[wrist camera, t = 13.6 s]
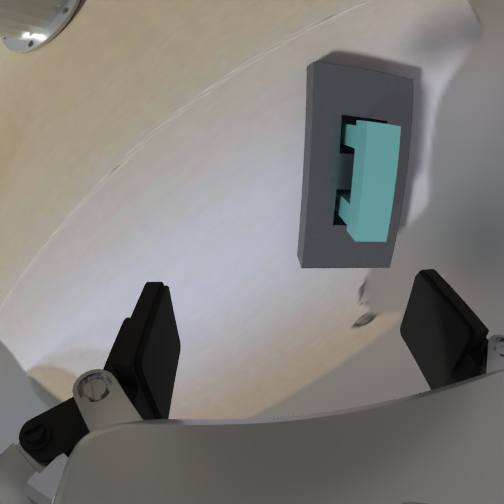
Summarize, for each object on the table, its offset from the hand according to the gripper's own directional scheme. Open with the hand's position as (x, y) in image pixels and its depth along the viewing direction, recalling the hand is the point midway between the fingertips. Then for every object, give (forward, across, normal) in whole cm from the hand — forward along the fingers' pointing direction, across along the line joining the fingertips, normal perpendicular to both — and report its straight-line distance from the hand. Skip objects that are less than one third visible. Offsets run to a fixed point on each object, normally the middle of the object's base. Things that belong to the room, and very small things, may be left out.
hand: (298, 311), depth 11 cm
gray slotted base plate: (+21, -9, -1) cm, 23 cm away
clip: (+21, -9, -1) cm, 23 cm away
